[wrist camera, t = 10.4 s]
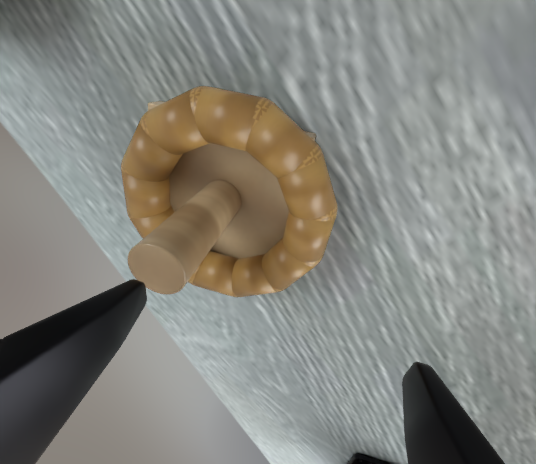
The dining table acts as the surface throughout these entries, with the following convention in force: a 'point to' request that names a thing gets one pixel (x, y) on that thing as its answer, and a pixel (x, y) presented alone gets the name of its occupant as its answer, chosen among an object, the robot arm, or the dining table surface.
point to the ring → (264, 151)
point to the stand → (211, 216)
